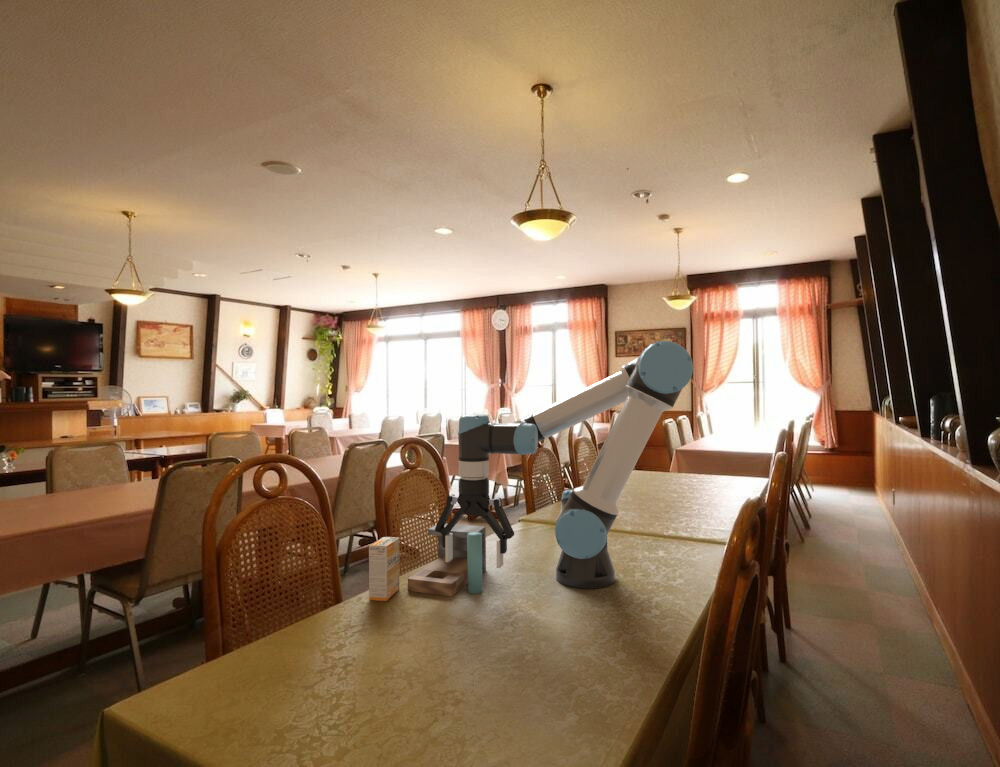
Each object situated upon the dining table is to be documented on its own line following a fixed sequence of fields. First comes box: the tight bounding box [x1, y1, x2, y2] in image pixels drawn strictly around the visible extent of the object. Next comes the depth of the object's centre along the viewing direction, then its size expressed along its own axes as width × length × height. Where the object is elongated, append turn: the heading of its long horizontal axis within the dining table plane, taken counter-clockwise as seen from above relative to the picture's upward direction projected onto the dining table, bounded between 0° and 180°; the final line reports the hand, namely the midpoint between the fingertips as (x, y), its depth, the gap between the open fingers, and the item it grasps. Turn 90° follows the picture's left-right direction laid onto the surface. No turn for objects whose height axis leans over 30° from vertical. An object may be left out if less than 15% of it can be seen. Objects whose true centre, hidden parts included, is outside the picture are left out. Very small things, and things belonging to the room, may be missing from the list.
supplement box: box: [368, 536, 400, 602], centre depth 133 cm, size 8×5×13 cm, turn 168°
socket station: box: [407, 523, 487, 597], centre depth 143 cm, size 14×20×12 cm
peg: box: [467, 532, 483, 595], centre depth 135 cm, size 4×4×14 cm
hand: (474, 563), depth 135 cm, fingers open, 13 cm apart
